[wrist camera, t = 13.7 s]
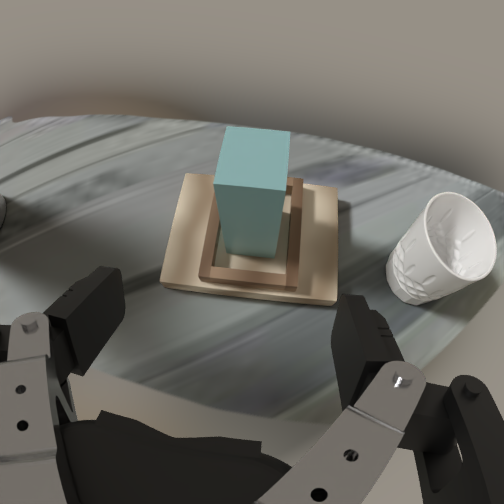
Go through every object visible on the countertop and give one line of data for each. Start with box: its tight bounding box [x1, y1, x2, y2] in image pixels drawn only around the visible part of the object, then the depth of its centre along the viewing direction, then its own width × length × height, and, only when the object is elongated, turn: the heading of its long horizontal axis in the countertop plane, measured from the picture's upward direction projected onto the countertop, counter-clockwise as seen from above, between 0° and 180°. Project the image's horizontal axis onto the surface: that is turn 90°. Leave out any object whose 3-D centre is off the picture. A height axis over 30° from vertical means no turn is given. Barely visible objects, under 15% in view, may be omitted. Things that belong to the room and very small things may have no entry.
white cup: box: [386, 192, 497, 305], centre depth 26 cm, size 8×8×10 cm
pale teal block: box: [213, 126, 290, 259], centre depth 25 cm, size 4×5×11 cm
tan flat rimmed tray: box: [160, 173, 338, 306], centre depth 30 cm, size 16×12×4 cm
